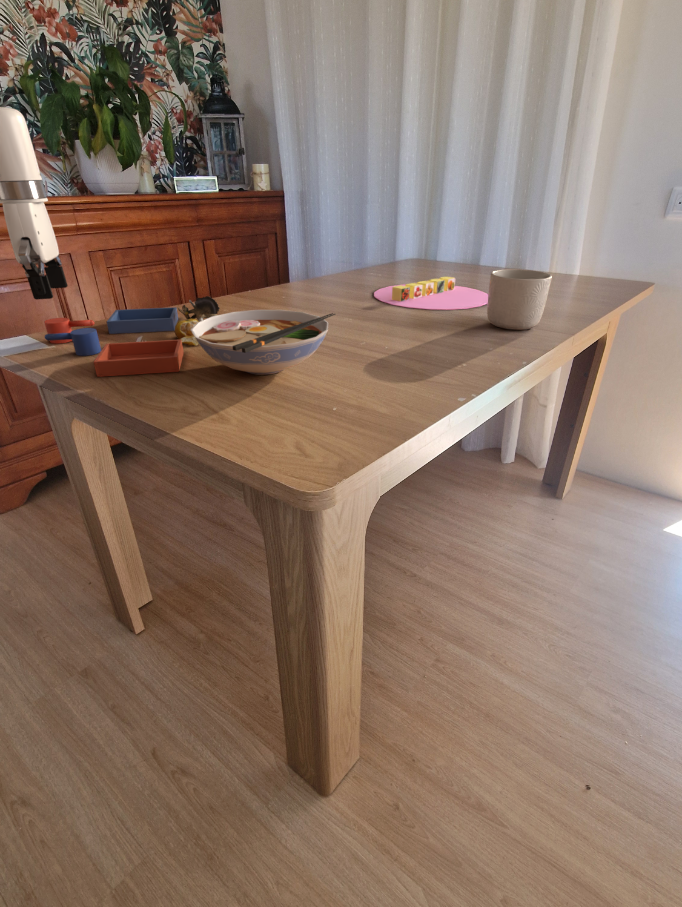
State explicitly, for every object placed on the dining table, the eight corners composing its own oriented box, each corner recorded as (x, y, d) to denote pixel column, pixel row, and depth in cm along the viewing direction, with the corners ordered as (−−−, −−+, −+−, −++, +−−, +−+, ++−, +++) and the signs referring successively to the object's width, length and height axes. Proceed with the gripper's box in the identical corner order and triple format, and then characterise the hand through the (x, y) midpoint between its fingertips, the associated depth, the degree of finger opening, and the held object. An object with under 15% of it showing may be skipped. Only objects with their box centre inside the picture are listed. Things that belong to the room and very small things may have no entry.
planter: (547, 323, 112) (558, 272, 107) (532, 336, 103) (543, 281, 98) (493, 315, 118) (501, 267, 113) (475, 327, 109) (482, 275, 104)
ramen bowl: (262, 339, 101) (259, 298, 97) (357, 360, 90) (358, 314, 86) (162, 376, 83) (153, 327, 79) (267, 407, 72) (263, 353, 68)
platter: (349, 294, 138) (349, 281, 136) (424, 279, 156) (425, 268, 154) (441, 316, 117) (442, 302, 115) (514, 296, 135) (517, 284, 134)
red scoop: (47, 344, 98) (41, 324, 96) (53, 337, 102) (48, 318, 100) (95, 341, 99) (90, 321, 97) (100, 335, 103) (95, 316, 101)
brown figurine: (179, 326, 105) (220, 318, 104) (174, 293, 106) (215, 285, 105) (193, 336, 113) (231, 329, 112) (189, 306, 113) (227, 298, 112)
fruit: (187, 347, 96) (184, 329, 94) (164, 339, 101) (161, 321, 99) (222, 338, 101) (220, 320, 99) (198, 330, 106) (196, 313, 104)
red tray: (97, 376, 82) (93, 361, 81) (109, 357, 91) (106, 343, 90) (179, 371, 85) (176, 356, 83) (183, 352, 93) (181, 339, 92)
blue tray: (109, 334, 104) (106, 321, 103) (118, 321, 113) (115, 309, 111) (174, 330, 106) (172, 318, 105) (178, 318, 115) (176, 307, 114)
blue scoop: (103, 347, 96) (98, 327, 94) (98, 355, 92) (93, 333, 90) (53, 350, 94) (47, 329, 92) (46, 358, 91) (39, 336, 89)
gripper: (16, 191, 94) (45, 285, 102) (-23, 196, 79) (14, 304, 88) (58, 190, 95) (83, 283, 104) (28, 194, 80) (60, 302, 89)
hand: (52, 293), depth 96 cm, fingers open, 9 cm apart
